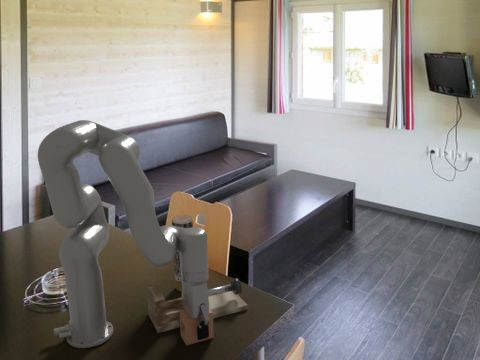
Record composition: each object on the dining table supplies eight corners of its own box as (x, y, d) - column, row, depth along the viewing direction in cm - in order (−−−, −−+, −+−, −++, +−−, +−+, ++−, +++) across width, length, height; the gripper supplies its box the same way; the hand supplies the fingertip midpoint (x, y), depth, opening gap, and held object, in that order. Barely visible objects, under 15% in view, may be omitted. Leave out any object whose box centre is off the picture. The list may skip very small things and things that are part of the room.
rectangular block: (186, 345, 124) (185, 319, 122) (180, 335, 128) (179, 310, 126) (213, 337, 127) (212, 312, 125) (207, 328, 132) (206, 303, 130)
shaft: (195, 308, 137) (194, 293, 135) (189, 300, 141) (189, 286, 140) (241, 296, 143) (241, 282, 142) (235, 289, 147) (234, 275, 146)
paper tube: (185, 281, 159) (182, 213, 153) (199, 287, 155) (196, 218, 149) (171, 288, 154) (167, 219, 148) (185, 295, 150) (181, 224, 144)
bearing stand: (157, 333, 130) (155, 303, 127) (148, 314, 139) (146, 286, 137) (247, 309, 141) (247, 281, 139) (232, 293, 151) (232, 267, 148)
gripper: (171, 263, 129) (175, 317, 133) (192, 290, 114) (195, 350, 118) (196, 258, 132) (199, 311, 136) (219, 283, 117) (221, 342, 121)
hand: (197, 329), depth 127 cm, fingers open, 8 cm apart
